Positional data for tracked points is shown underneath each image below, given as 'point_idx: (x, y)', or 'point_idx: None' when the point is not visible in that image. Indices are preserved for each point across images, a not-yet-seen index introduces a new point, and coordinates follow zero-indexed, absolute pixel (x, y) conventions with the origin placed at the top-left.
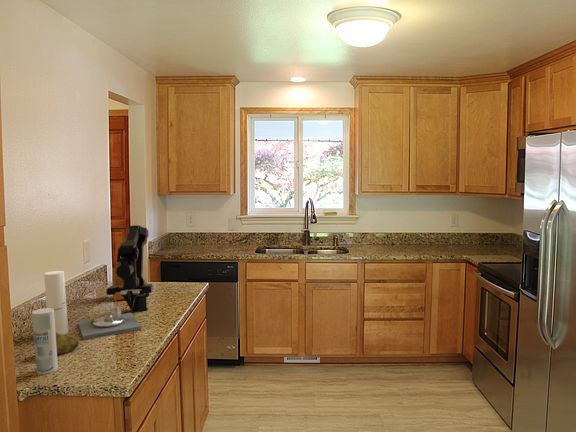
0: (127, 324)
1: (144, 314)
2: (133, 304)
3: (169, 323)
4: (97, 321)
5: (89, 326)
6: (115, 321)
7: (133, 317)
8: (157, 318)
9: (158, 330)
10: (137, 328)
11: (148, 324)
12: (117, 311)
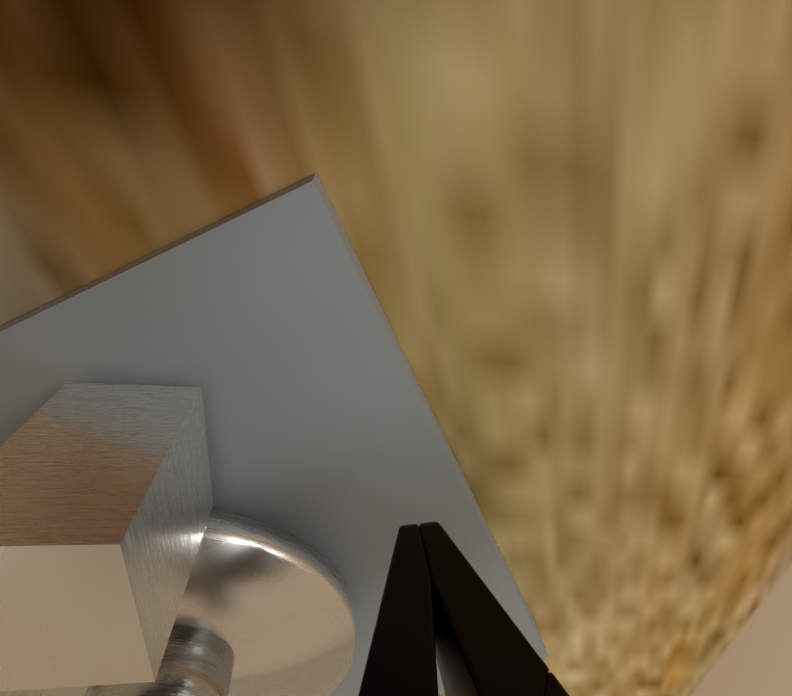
0: None
1: (538, 109)
2: (483, 599)
3: (785, 506)
4: (40, 692)
5: None
6: (284, 683)
7: (427, 451)
8: (710, 353)
9: (663, 628)
10: None
11: (594, 523)
12: (179, 602)
